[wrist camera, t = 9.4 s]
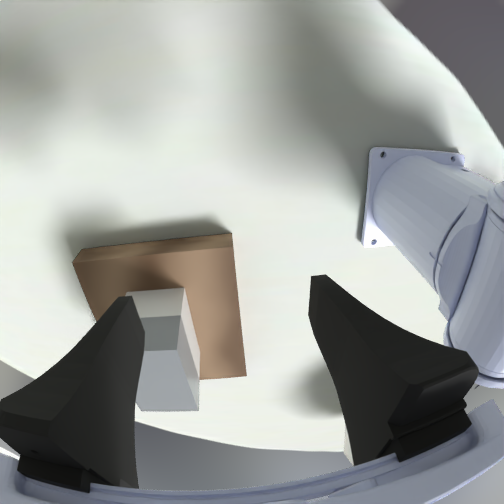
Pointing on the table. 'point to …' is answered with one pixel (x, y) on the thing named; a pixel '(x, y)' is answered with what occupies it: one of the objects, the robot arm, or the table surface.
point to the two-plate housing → (167, 352)
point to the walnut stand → (176, 276)
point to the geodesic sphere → (347, 447)
